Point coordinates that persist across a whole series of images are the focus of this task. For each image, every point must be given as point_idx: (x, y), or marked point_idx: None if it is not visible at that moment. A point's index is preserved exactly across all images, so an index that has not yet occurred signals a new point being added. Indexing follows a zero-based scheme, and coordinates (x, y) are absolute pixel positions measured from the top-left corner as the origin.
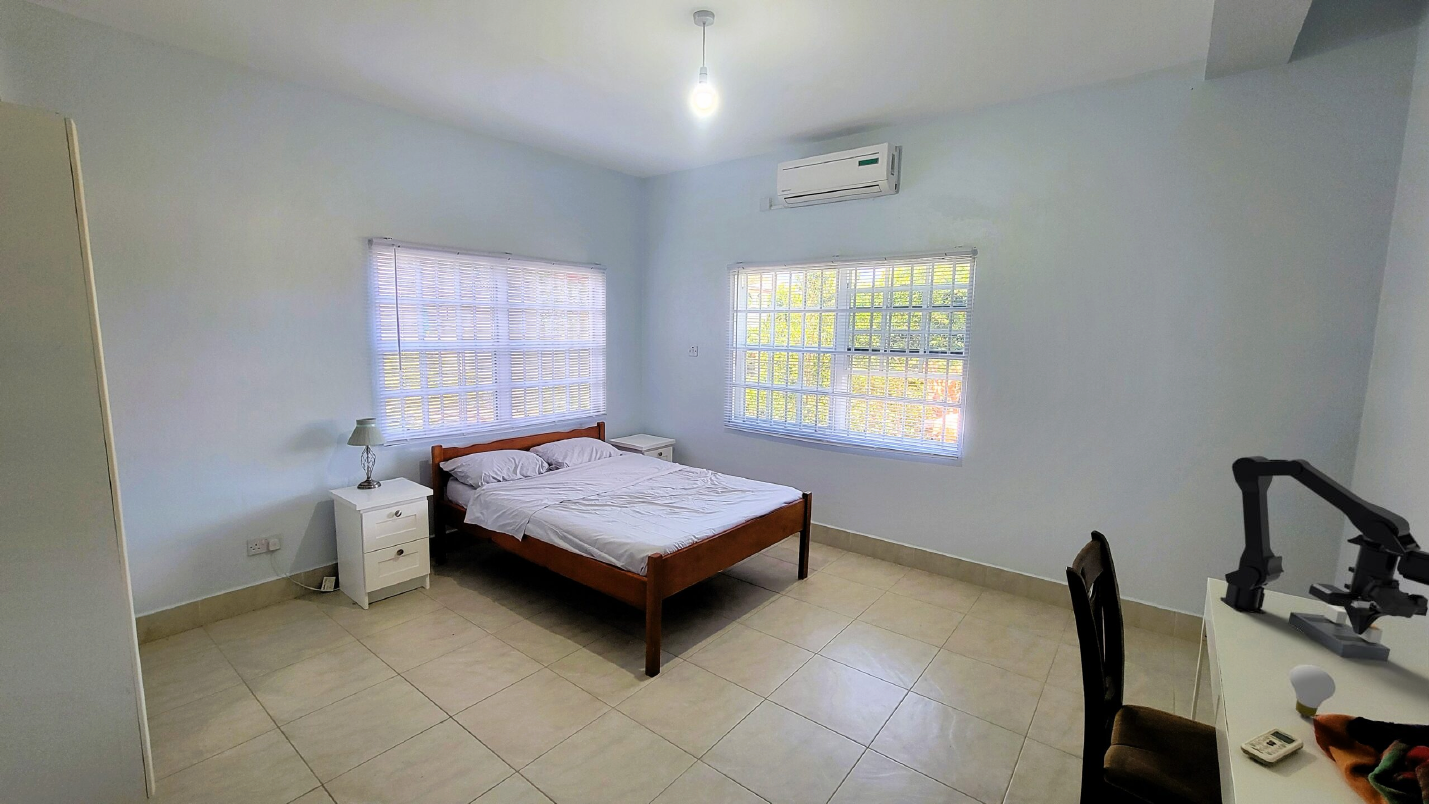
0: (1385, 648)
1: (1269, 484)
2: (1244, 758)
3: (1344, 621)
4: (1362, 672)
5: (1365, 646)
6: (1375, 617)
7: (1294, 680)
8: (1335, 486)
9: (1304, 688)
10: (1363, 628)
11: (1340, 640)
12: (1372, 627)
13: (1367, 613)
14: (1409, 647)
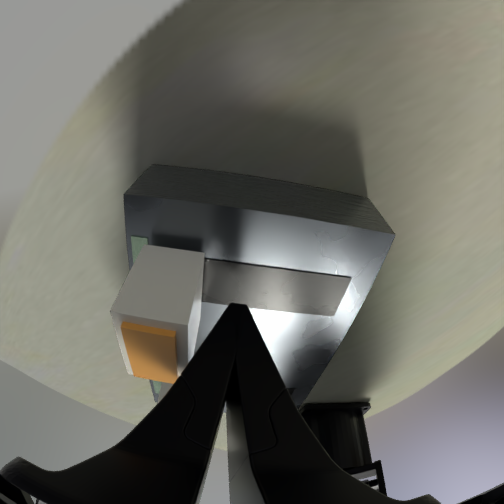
0: (147, 199)
1: None
2: None
3: (165, 386)
4: (415, 76)
5: (272, 215)
6: (164, 441)
7: None
8: None
9: None
10: (233, 340)
11: (358, 271)
12: (166, 345)
13: (314, 499)
14: (8, 271)
